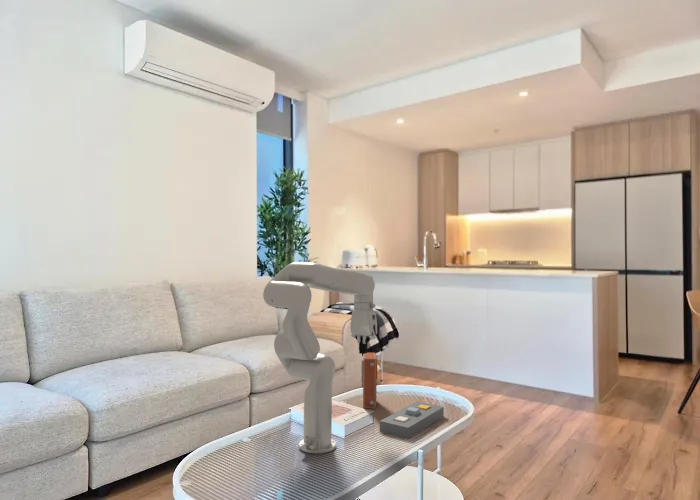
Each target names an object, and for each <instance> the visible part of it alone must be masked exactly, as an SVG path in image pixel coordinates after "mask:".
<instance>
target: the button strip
mask: <svg viewBox="0 0 700 500" xmlns="http://www.w3.org/2000/svg"><path fill="white" fill-rule="evenodd" d="M421 404H422V405H427V406H430V409H428V410H422V409H420V414H419V415H418V416H411V415H407V414H406V409H408V408H410V407H414V408H417V407H418V406H419V405H421ZM444 409H445V408H444V406H441V405H435V404H432V403H426V402H421V401H416V402H413V403H411V404H410V405H408V406H406V407H403V408H402V409H399V410H398V411H396V412H395V413H392V414H390V415H389V416H386V417H385V418H382V419H380V420H379V432H380V433H384V434H386V435H391V436H395V437H399V438H403V439H406V438H407V440H409V439H411V438H412V437H414V436H415V435H417V434H419V433H420V432H421V431H423V430H425V429H427V428H428V427H430V426H431V425H433V424H434V423H436V422H437V421H440V420H441V419H442V418H443V417H444V416H445V415H444V414H445V413H444ZM399 416H402V417H406V418H409V421H407V422H405V423H402V422H398V421H394V419H395V418H397V417H399ZM410 437H411V438H410Z"/></svg>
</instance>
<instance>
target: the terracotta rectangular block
mask: <svg viewBox="0 0 700 500" xmlns="http://www.w3.org/2000/svg"><path fill="white" fill-rule="evenodd" d="M360 361H361V366H360V367H361V375H360V378H361V381H360V382H361V383H362V408H363V409H376V407H377V392H378V391H377V387H378V386H377V383H378V382H377V381H378V358H377V357H376V352H367V353H365V354H362V356H361V360H360Z"/></svg>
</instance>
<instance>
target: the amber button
mask: <svg viewBox="0 0 700 500" xmlns="http://www.w3.org/2000/svg"><path fill="white" fill-rule="evenodd" d="M417 408H419V409H422V410H428V409H430V406H427V405H422V404H421V405H419V406H418V407H417Z"/></svg>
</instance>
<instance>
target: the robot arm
mask: <svg viewBox="0 0 700 500" xmlns="http://www.w3.org/2000/svg"><path fill="white" fill-rule="evenodd" d="M375 285H376V283H375V280H374V277H373V276H372V275H369V274H366V273H360V272H355V271H351V270H346V269H341V268H335V267H332V266H328V265H325V264H320V263H317V262H312V261H310V262H307V261H305V262H303V261H302V262H301V261H300V262H299V261H297V262H296V261H294V262H291V263H289V264H287V265H286V266H284V267H283V268H282V269H281V270H280V271H279V272H278V273H277V274H275V276H273V277H272V278H271V279H270V280H269V281H268V282H267V284H266V285H265V287H264V289H263V293H262V295H263V300H264V302H265V303H266V304H267V305H268V306H269V307H272V308H278V309H279V308H282V309H286V310H287V311H286V313H285V316H284V318H283V320H282V325H281V328H282V330H279V332H278V333H277V334H276V335H275V338H274V342H273V348H274V351H275V352H274V353H275V354H276V356H277V358H278V359H279V361H280V363H281V365H282V366H283V368H284V369H285V371H286V372H287V373H288V375H289V376H290V377H292V378H295V379H298V380H304V381H306V382H307V381H308V382H309V383H308V386H307V387H306V388H305V391H304V393H303V394H304V395H303V439H301V440H300V441H299V442H298V448H299V450H301V451H302V452H304V453H308V454H317V455H318V454H325V453H329V452H332V451H333V450H334V449H336V447H337V442H336V441H335V440H334V439H333V438H332V419H333V418H332V417H333V416H332V415H333V411H332V410H333V409H332V408H333V405H332V404H333V403H332V402H333V381H334V377H335V370H336V363H335V360H334V359H333V358H332V357H331V356H330V355H328V354H325V353H320V351H321V346H320V342H319V340H318V338H317V336H316V335H315V332H314V331H313V329H312V327H311V325H310V323H309V321H308V316H309V315H308V313H309V309H310V305H311V302H312V290H311V289H315V290H321V291H324V292H329V293H331V292H332V293H341V294H343V295H349V296H353V309H352V312H351V318H350V333H351V335H350V336H351V338H353V339H356V341H357V343H358V354H360V355H363V354H365V353H368V346H369V345H368V343H370V341H372V340H375V339H376V335H377V334H378V323H377V322H378V321H377V320H378V319H377V313H376V310H375V309H374V308H376V304H374V291H375V287H376V286H375Z"/></svg>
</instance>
